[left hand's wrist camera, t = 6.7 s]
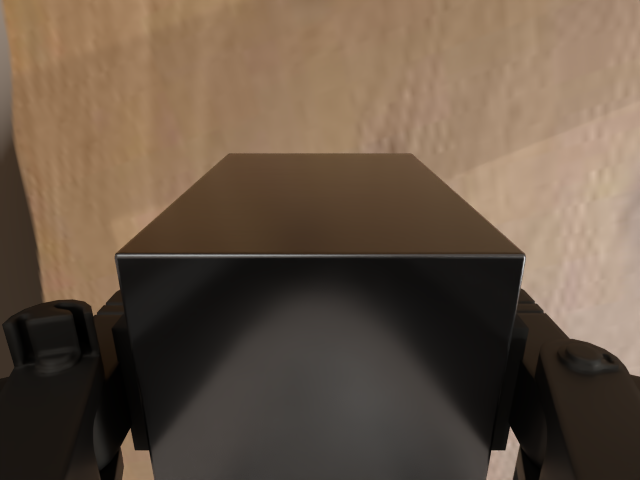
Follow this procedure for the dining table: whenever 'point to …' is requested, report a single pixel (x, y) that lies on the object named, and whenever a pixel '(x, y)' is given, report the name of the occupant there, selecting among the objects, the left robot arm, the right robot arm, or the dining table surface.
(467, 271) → the bar
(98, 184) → the dining table surface
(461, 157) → the dining table surface
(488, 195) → the dining table surface
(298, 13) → the dining table surface
